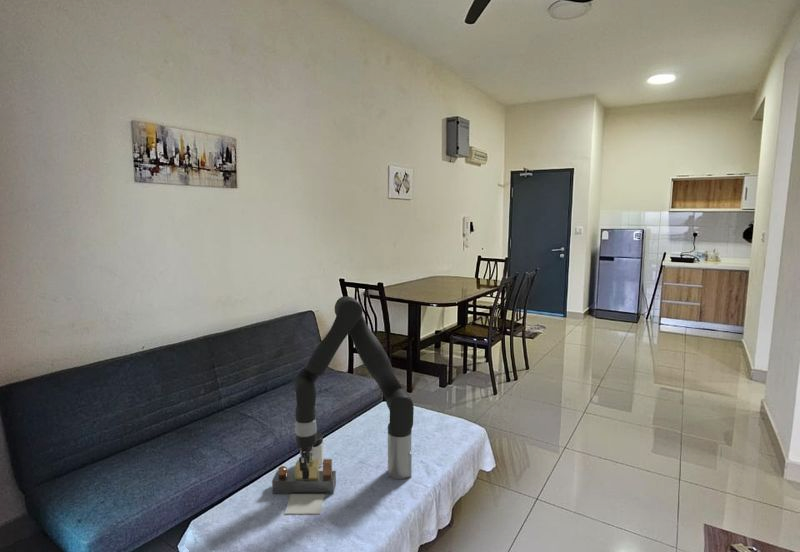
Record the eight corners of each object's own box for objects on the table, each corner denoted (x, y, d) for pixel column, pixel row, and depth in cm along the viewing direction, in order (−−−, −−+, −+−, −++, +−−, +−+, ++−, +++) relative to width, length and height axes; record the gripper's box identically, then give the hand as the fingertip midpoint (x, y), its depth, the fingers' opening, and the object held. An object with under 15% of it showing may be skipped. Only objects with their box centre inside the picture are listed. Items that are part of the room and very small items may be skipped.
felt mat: (324, 495, 160) (324, 494, 160) (320, 514, 150) (320, 513, 150) (291, 495, 160) (291, 494, 160) (284, 514, 150) (284, 513, 150)
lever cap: (319, 472, 165) (318, 460, 164) (317, 479, 161) (316, 466, 160) (297, 472, 165) (297, 460, 164) (295, 479, 161) (294, 466, 160)
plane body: (335, 483, 167) (335, 456, 165) (333, 494, 161) (332, 466, 159) (277, 483, 167) (276, 456, 165) (272, 494, 160) (271, 465, 159)
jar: (306, 472, 174) (305, 444, 172) (298, 462, 180) (297, 435, 179) (327, 465, 179) (326, 437, 177) (319, 456, 185) (318, 429, 183)
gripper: (312, 441, 153) (313, 486, 156) (319, 421, 167) (320, 463, 170) (290, 440, 153) (292, 486, 156) (299, 421, 167) (301, 463, 170)
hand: (307, 473), depth 163 cm, fingers open, 5 cm apart
